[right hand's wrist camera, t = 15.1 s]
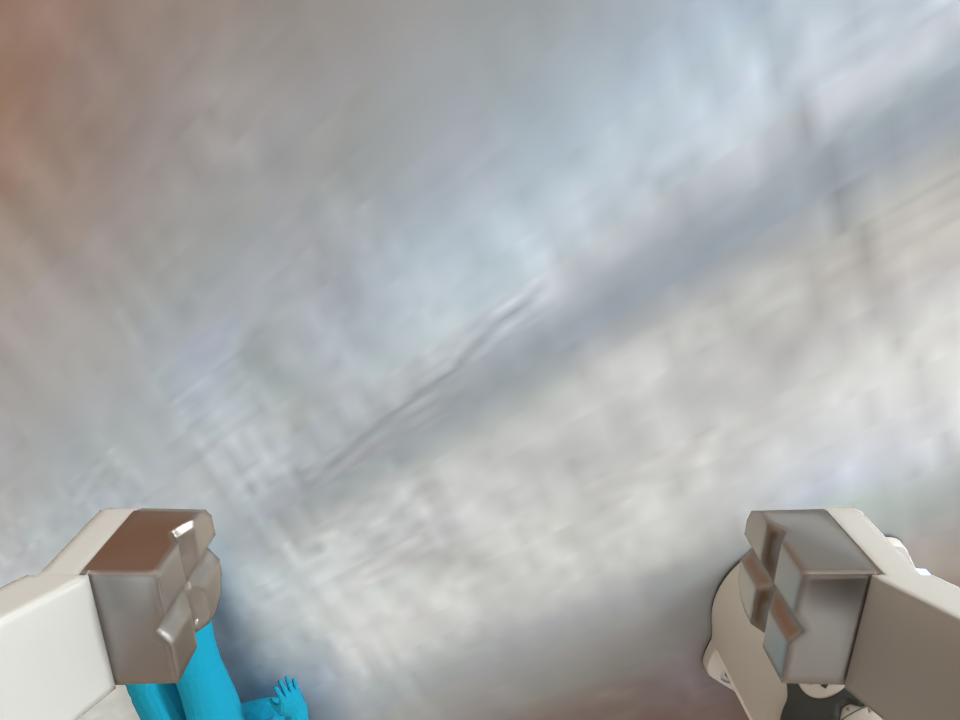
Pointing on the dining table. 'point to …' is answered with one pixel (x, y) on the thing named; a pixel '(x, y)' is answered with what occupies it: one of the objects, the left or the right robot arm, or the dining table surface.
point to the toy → (213, 693)
